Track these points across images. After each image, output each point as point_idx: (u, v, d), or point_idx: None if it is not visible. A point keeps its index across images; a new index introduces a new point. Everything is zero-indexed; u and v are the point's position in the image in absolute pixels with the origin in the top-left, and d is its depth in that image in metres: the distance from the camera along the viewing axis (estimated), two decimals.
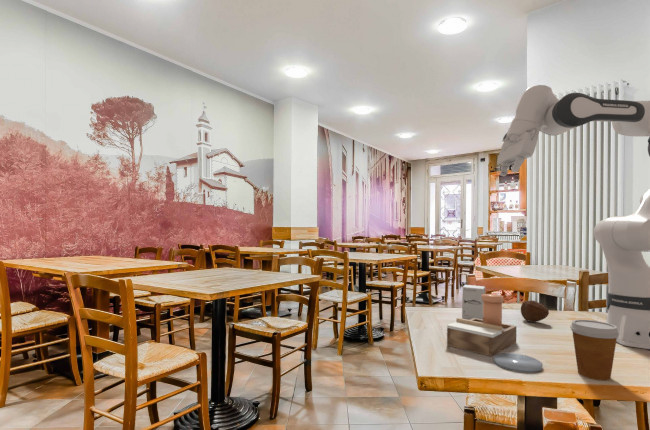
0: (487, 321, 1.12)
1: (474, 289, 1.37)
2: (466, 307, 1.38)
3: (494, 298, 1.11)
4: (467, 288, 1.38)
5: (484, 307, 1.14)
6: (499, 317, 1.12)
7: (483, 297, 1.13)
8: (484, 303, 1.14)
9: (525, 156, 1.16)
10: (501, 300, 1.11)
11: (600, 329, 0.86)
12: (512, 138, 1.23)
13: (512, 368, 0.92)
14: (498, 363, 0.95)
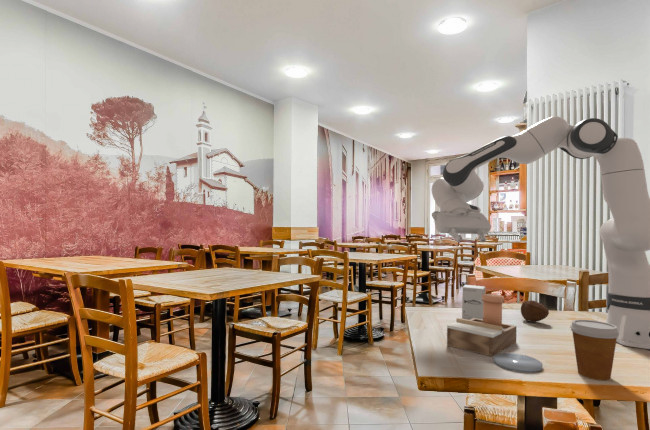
0: (487, 321, 1.12)
1: (474, 289, 1.37)
2: (466, 307, 1.38)
3: (494, 298, 1.11)
4: (467, 288, 1.38)
5: (484, 307, 1.13)
6: (499, 317, 1.12)
7: (483, 297, 1.13)
8: (484, 303, 1.14)
9: (446, 229, 1.30)
10: (501, 300, 1.11)
11: (600, 329, 0.86)
12: None
13: (512, 368, 0.92)
14: (498, 363, 0.95)
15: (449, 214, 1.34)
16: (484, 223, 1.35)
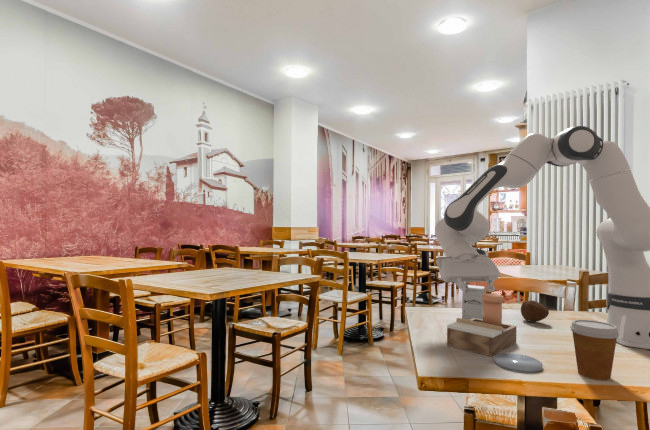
0: (487, 321, 1.12)
1: (474, 289, 1.37)
2: (466, 307, 1.38)
3: (494, 298, 1.11)
4: None
5: (484, 307, 1.13)
6: (499, 317, 1.11)
7: (483, 297, 1.13)
8: (484, 303, 1.13)
9: (451, 278, 1.21)
10: (501, 300, 1.11)
11: (600, 329, 0.86)
12: None
13: (512, 368, 0.92)
14: (498, 363, 0.95)
15: (454, 261, 1.25)
16: (492, 270, 1.25)
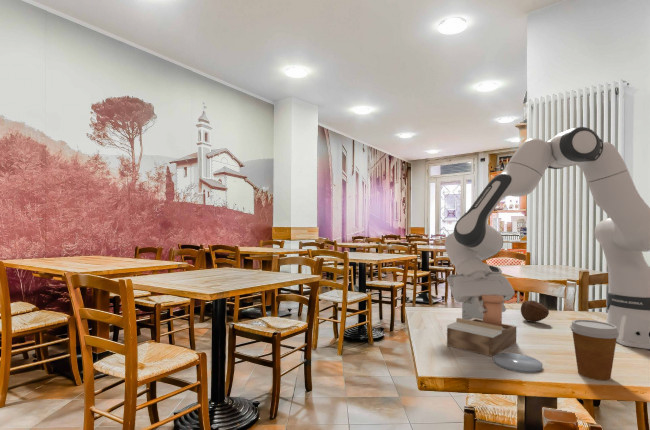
0: (487, 321, 1.12)
1: None
2: (466, 307, 1.38)
3: (495, 298, 1.11)
4: None
5: None
6: (499, 317, 1.12)
7: (483, 297, 1.13)
8: (484, 303, 1.13)
9: (464, 298, 1.14)
10: (501, 300, 1.12)
11: (600, 329, 0.86)
12: None
13: (512, 368, 0.92)
14: (498, 363, 0.95)
15: (467, 279, 1.18)
16: (506, 288, 1.19)
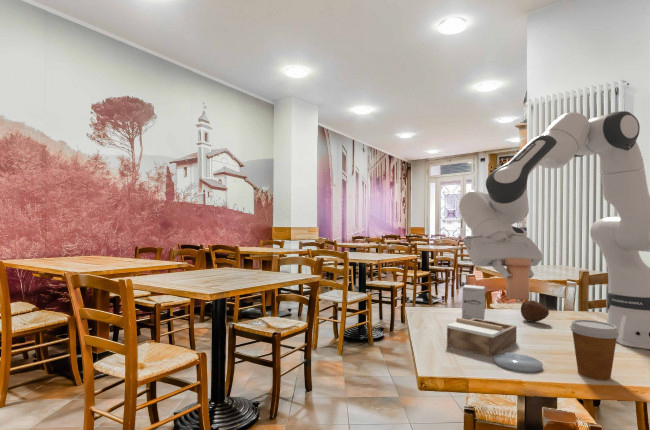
0: (512, 288, 0.95)
1: (474, 289, 1.37)
2: (466, 307, 1.38)
3: (521, 260, 0.94)
4: (467, 288, 1.38)
5: None
6: (527, 283, 0.94)
7: (507, 260, 0.96)
8: (508, 267, 0.96)
9: (484, 261, 0.97)
10: (529, 263, 0.94)
11: (600, 329, 0.86)
12: None
13: (512, 368, 0.92)
14: (498, 363, 0.95)
15: (487, 240, 1.01)
16: (533, 251, 1.02)
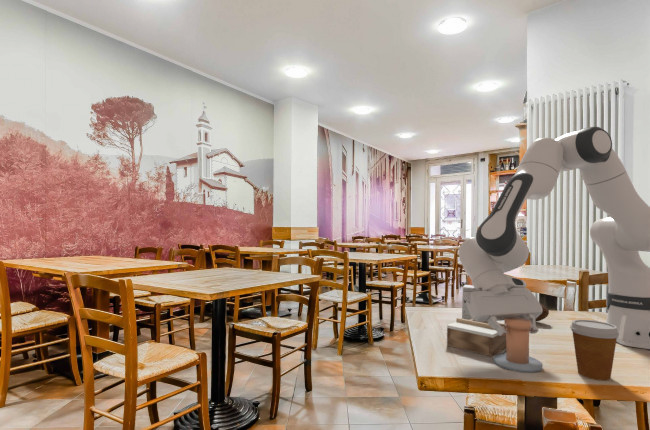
0: (512, 351, 0.94)
1: None
2: (466, 307, 1.38)
3: (521, 324, 0.93)
4: (467, 288, 1.38)
5: (508, 334, 0.96)
6: (526, 346, 0.94)
7: (507, 322, 0.95)
8: (508, 329, 0.96)
9: (484, 317, 0.96)
10: (529, 326, 0.94)
11: (600, 329, 0.86)
12: None
13: (512, 368, 0.92)
14: (498, 363, 0.95)
15: (486, 294, 1.01)
16: (532, 305, 1.01)
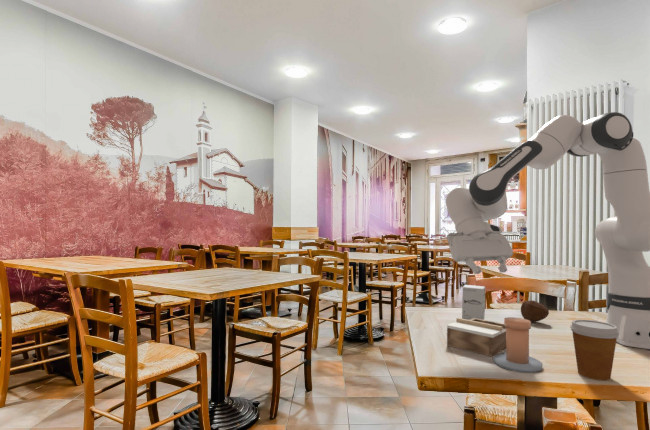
0: (512, 351, 0.94)
1: (474, 289, 1.37)
2: (466, 307, 1.38)
3: (521, 324, 0.93)
4: (467, 288, 1.38)
5: (508, 334, 0.96)
6: (526, 346, 0.94)
7: (507, 322, 0.96)
8: (508, 329, 0.96)
9: (463, 258, 1.12)
10: (529, 326, 0.94)
11: (600, 329, 0.86)
12: None
13: (512, 368, 0.92)
14: (498, 363, 0.95)
15: (467, 238, 1.15)
16: (505, 248, 1.17)
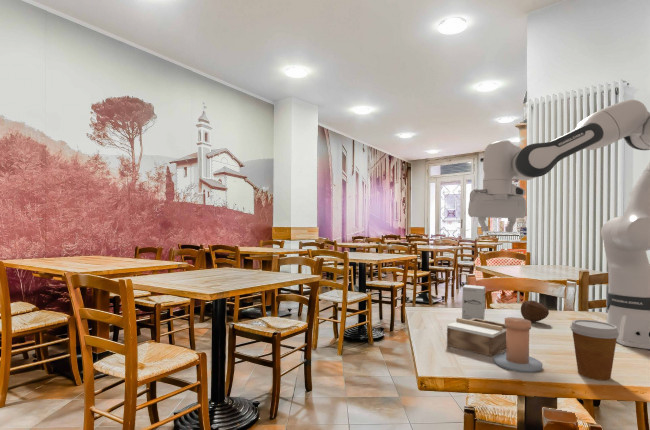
0: (512, 351, 0.94)
1: (474, 289, 1.37)
2: (466, 307, 1.38)
3: (521, 324, 0.93)
4: (467, 288, 1.38)
5: (508, 334, 0.96)
6: (527, 346, 0.94)
7: (507, 322, 0.96)
8: (508, 329, 0.96)
9: None
10: (529, 326, 0.94)
11: (600, 329, 0.86)
12: None
13: (512, 368, 0.92)
14: (498, 363, 0.95)
15: (488, 198, 1.23)
16: (519, 211, 1.26)
